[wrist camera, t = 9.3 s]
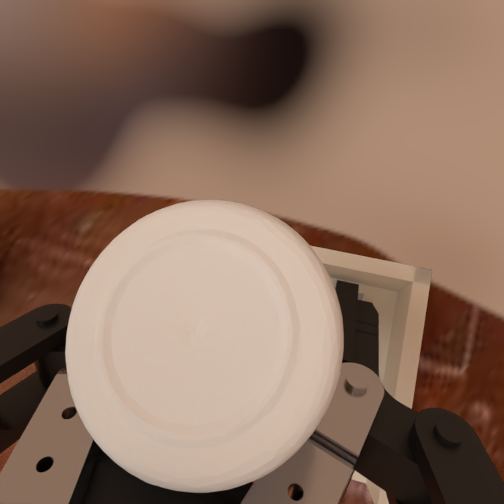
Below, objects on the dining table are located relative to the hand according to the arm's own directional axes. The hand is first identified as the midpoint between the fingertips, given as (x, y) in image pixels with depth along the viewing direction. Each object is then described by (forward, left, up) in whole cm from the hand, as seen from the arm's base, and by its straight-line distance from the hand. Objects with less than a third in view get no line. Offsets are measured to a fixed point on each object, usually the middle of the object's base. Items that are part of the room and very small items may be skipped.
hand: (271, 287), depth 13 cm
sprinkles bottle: (0, -2, -6) cm, 7 cm away
